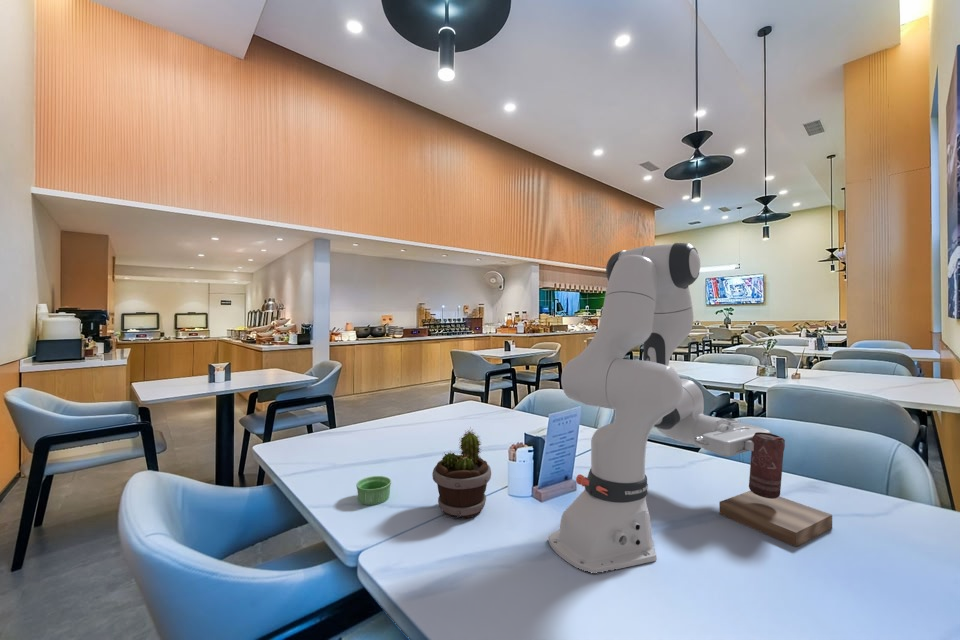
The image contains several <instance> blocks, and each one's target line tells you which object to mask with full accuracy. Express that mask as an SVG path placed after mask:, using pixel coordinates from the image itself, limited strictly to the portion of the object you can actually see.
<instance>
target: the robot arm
mask: <svg viewBox="0 0 960 640" xmlns="http://www.w3.org/2000/svg"><path fill="white" fill-rule="evenodd" d="M700 270H701V257H700V255H699V253H698V250H697V249H696V248H695V247H694V246H693V245H692V244H691V243H689V242H688V243H685V242H674V243H673V244H656V245H644V246H640V247H635V248H630V249H628V250H626V249H624V250H623V249H622V250H621V251H617V252H615V253H613V254H612V255H611V256H610V258H609V259H608V261H607V263H606V267H605V272H606V278H607V281H608V283H607V286H606V290H605V295H604V300H603V305H602V311H601V315H600V320H599V324H598V327H597V330H596V332H595V334H594V336H593V338H592V339H591V341H590V343H588V345H587V346H586V347H585V349H583V350H582V352H580V353H579V354H578V355H577V356H575V357H574V358H572V359H570V360H569V361H568V362H567V363H565V365H564V367H563V370H562V372H561V378H560V381H561V388H562V391H563V393H564V394H565V396H566V397H567V398H568V399H570V400H572V401H574V402H578V403H581V404H583V405H586V406H592V407H598V408H603V409H610V410H614V411H615V418H614V422H611V423H608V424H606V425H603V426H600V427H599V428H598V429H596V430H595V431H594V432H593V434H592V437H591V440H590V454H591V455H590V458H591V459H590V465H591V466H590V469H589V470H588V474H587V477H586V476H584V475H583V474H578V475H576V477H575V482H576V483H577V484H578V485H580V486H582V487H584V490H583V491H582V492H581V493H580V494H579V495H578V496H577V497H576V499H574V500H573V501H572V503H571V504H570V505H569V506H568V507H567V508H566V509H565V510H564V511H563V512H562V515H561V519H560V524H559V525H560V526H559V529H558V530H555V531H554V532H551V533H550V534H549V535H548V544H549V546H550V548H551V549H552V550H553V551H554V552H555V553H556V554H557V555H558V556H559V557H560V558H561V559H563V560H564V561H566V562H567V563H568V564H569V565H571V566H574V568H577V569H578V568H579V570H581V569H582V570H581V571H583V570H584V571H583V572H585V571H588V572H592V573H596V572H602V571H606V572H609V571H608V570H611V571H615V570H614V569H616V570H619V569H624V568H629V567H634V566H638V565H642V564H648V563H652V562H656V560H657V559H658V558H657V552H656V550H655V549H654V547H655V542H654V539H653V536H652V526H651V525H652V524H651V517H650V512H649V508H648V505H647V498H646V497H647V495H648V488H649V483H648V476H647V475H646V452H647V442H648V438H649V436H650V434H651V431H652V430H653V428H656V429H657V430H658V432H660V433H661V434H662V435H664V436H665V437H667V438H670V439H672V440H675V441H676V442H680V443H684V444H689V445H691V444H693V445H695V446H696V447H698V448H701V449H704V451H705V450H706V451H708V452H710V453H714V454H717V455H719V456H722V457H732V456H735V455H739V454H743V453H746V452H751V451H754V443H753V441H752V438H753V436H754V434H755V433H757V432H763V433H770V434H773V433H772V432H771V430H769V429H767V428H763V427H762V426H761V427H760V426H757V425H753V424H749V423H746V422H745V423H744V422H739V420H738V419H735V418H722V417H718V416H717V417H716V416H711V415H707V414H704V413H705V396H704V392H703V390H702V388H701V387H700V386H699V385H698V384H697V383H696V382H695V381H693V380H691V379H689V378H686V377H685V378H684V377H681V376H680V374H679V373H678V372H677V371H676V370H675V368H673V367H672V366H669V365H670V360H671V357H672V355H673V354H674V352H675V350H676V349H677V348H678V347H679V345H681V343H682V342H683V341H684V340H686V338H687V337H688V336H689V335H690V333H691V332H692V329H693V326H694V309H693V302H692V297H691V291H690V288H689V286H690V285H692V284H694V282H695V281H696V280H697V279H698V277H699V275H700ZM642 344H643V352H642V353H643V354H642V355H643V357H642V358H643V359H642V360H641V359H629V358H628V359H627V358H624V357H625V356H626V355H627V354H628V353H629V352H630V351H631V350H632V349H634V348H635V347H639V346H640V345H642ZM588 572H587V573H588ZM592 573H591V574H592ZM602 573H603V572H602Z"/></svg>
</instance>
